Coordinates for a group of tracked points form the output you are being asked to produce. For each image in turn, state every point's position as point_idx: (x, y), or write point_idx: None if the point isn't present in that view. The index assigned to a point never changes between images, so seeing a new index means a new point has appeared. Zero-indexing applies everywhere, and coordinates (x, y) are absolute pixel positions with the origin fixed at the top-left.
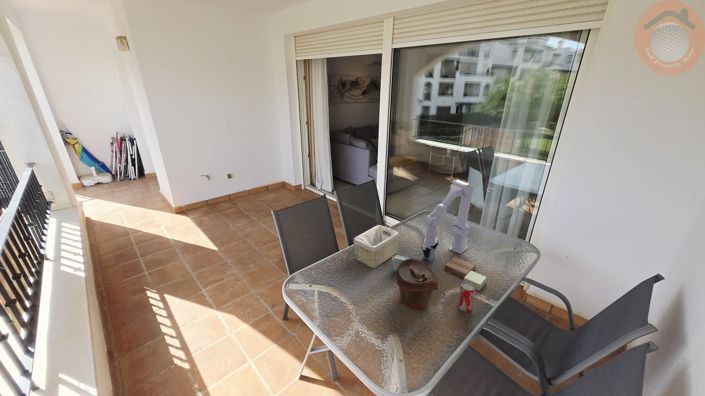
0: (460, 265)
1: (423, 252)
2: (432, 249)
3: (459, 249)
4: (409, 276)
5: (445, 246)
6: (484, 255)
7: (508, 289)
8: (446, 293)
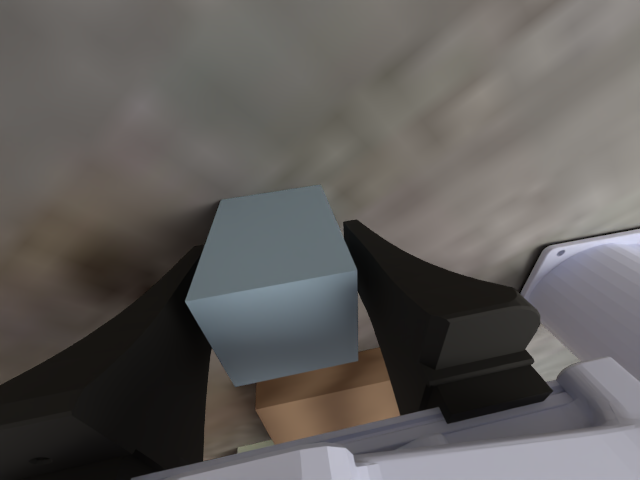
0: (336, 428)
1: (138, 304)
2: (308, 360)
3: (545, 326)
4: None
5: (592, 196)
6: (539, 369)
7: None
8: None
